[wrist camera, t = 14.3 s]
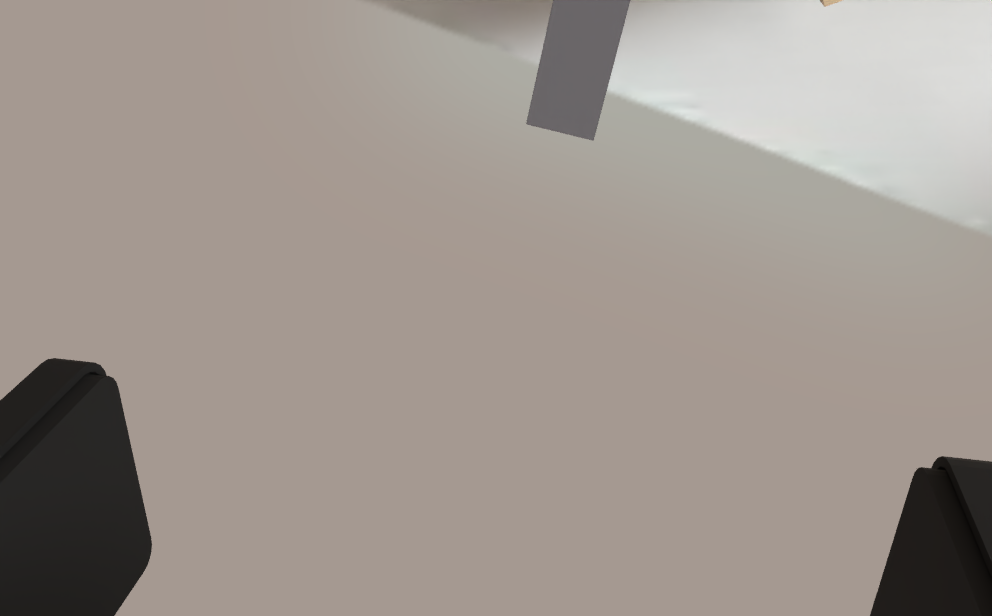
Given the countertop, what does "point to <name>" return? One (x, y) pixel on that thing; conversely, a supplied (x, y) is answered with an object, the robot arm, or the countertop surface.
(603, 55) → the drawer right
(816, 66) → the countertop surface
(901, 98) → the countertop surface
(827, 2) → the carton
